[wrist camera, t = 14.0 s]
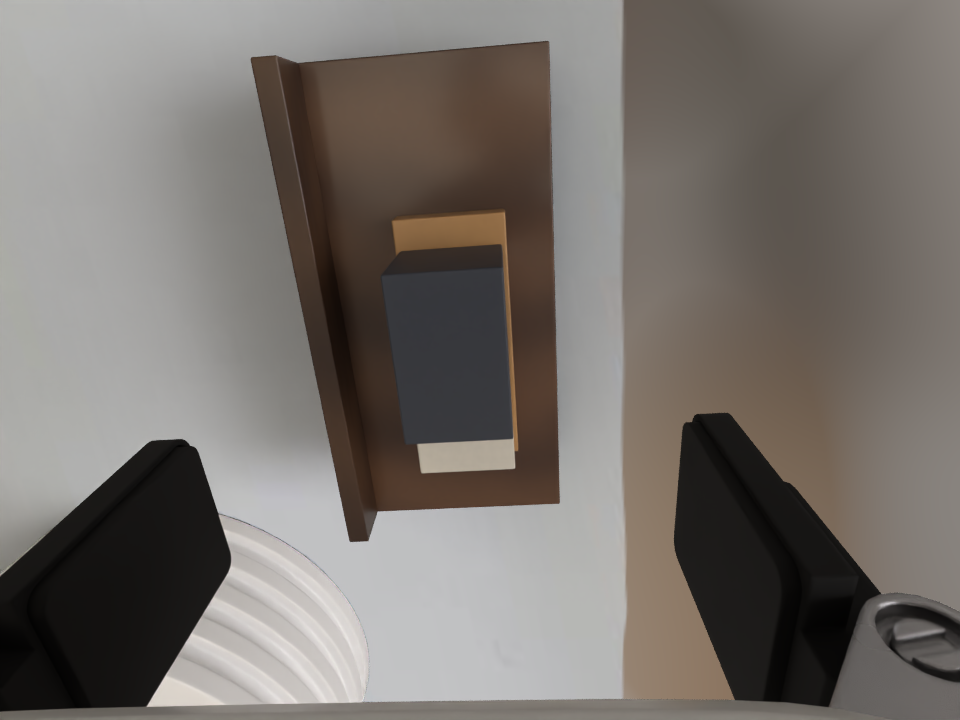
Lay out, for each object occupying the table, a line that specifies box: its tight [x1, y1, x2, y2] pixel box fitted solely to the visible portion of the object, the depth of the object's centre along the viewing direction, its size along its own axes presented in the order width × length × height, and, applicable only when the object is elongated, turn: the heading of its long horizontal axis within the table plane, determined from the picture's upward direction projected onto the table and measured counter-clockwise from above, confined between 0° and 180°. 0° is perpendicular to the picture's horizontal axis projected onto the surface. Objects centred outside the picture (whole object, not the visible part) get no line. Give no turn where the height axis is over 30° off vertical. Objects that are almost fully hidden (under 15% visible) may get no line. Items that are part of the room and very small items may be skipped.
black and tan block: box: [380, 209, 518, 473], centre depth 24 cm, size 12×5×6 cm, turn 4°
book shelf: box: [251, 41, 560, 542], centre depth 28 cm, size 22×11×8 cm, turn 4°
